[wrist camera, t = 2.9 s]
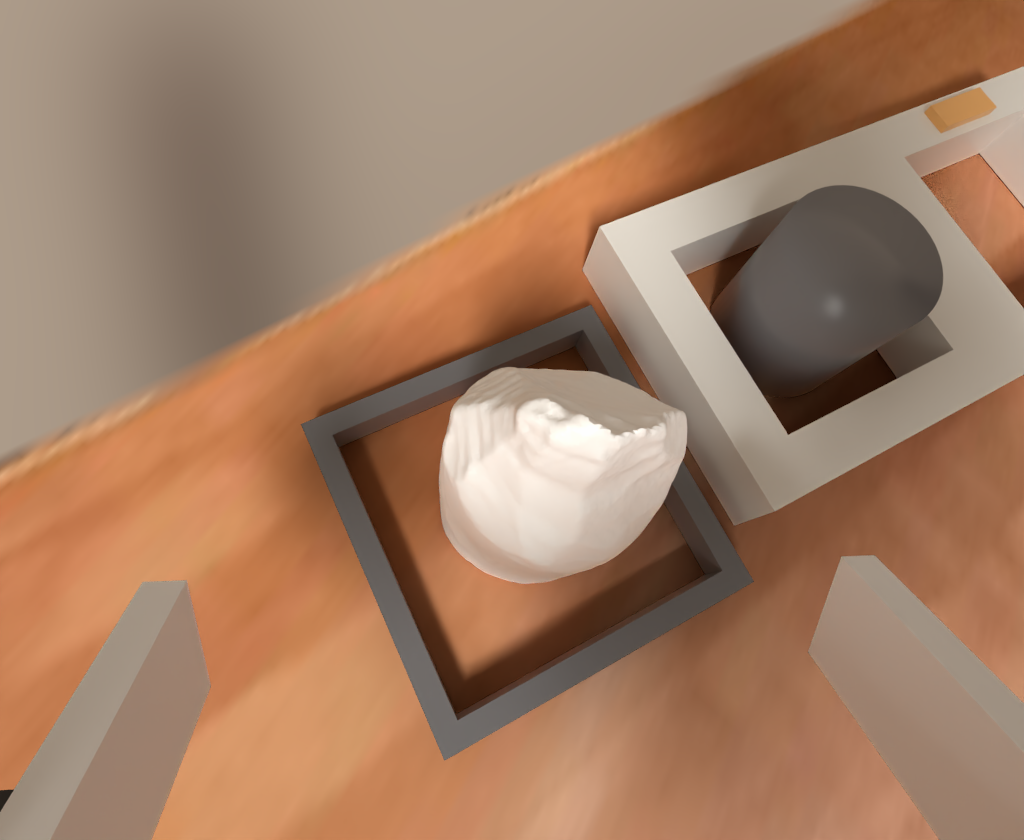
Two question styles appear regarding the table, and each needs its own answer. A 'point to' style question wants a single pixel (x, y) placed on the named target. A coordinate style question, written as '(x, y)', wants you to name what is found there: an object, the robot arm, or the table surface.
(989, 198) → the table surface
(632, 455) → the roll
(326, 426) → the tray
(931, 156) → the block
